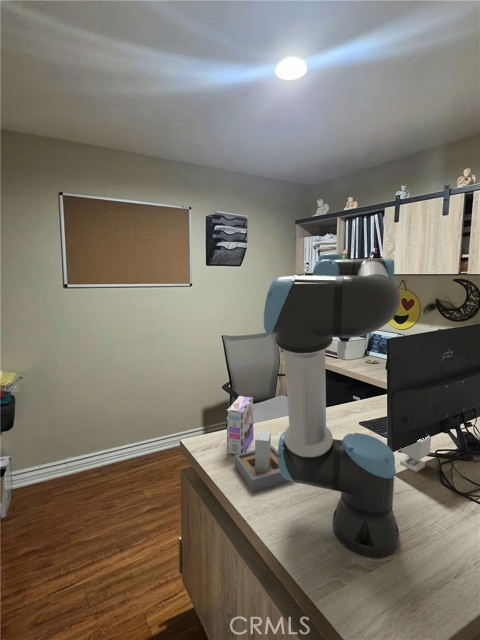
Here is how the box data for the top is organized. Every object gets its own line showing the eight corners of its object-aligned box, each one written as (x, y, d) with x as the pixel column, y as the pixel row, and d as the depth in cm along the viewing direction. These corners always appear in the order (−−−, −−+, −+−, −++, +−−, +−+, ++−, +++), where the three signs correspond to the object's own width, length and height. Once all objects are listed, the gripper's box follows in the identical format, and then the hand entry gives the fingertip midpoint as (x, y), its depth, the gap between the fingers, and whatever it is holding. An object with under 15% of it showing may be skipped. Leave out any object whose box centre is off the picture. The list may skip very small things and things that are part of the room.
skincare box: (268, 477, 101) (268, 441, 99) (254, 475, 102) (254, 439, 100) (271, 466, 107) (271, 431, 105) (258, 464, 108) (257, 430, 106)
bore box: (294, 479, 101) (294, 468, 100) (252, 492, 95) (252, 480, 95) (272, 456, 113) (272, 445, 113) (234, 466, 108) (234, 455, 107)
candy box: (242, 457, 113) (242, 411, 111) (226, 454, 115) (225, 409, 113) (254, 437, 126) (253, 396, 124) (239, 435, 128) (238, 395, 125)
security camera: (429, 465, 107) (431, 436, 105) (417, 472, 103) (419, 443, 102) (409, 456, 112) (411, 428, 111) (398, 463, 108) (400, 434, 107)
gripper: (345, 297, 120) (343, 354, 123) (293, 302, 106) (293, 366, 110) (362, 299, 113) (360, 358, 117) (310, 304, 100) (309, 371, 103)
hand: (327, 362), depth 113 cm, fingers open, 13 cm apart
